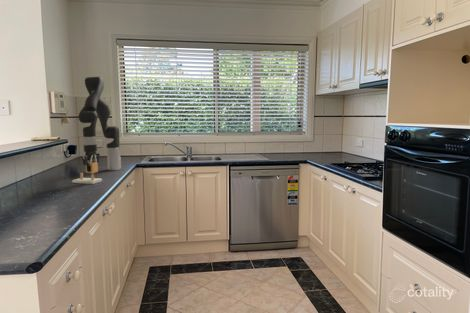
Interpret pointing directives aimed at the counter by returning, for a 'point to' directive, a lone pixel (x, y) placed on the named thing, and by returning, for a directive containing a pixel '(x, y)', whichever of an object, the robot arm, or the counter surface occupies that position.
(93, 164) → the light orange block
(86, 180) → the base
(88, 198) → the counter surface
